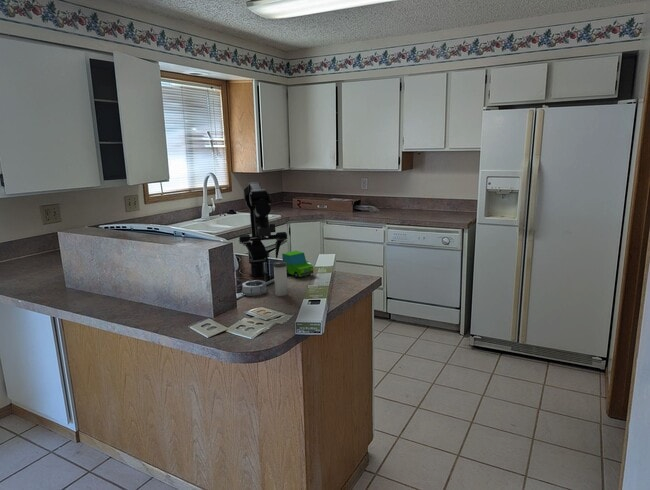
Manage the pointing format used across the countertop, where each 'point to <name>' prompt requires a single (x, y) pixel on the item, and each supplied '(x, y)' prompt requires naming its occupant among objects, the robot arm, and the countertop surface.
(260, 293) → the grey octagonal ring
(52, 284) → the countertop surface
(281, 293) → the white cylinder
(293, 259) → the toy car
